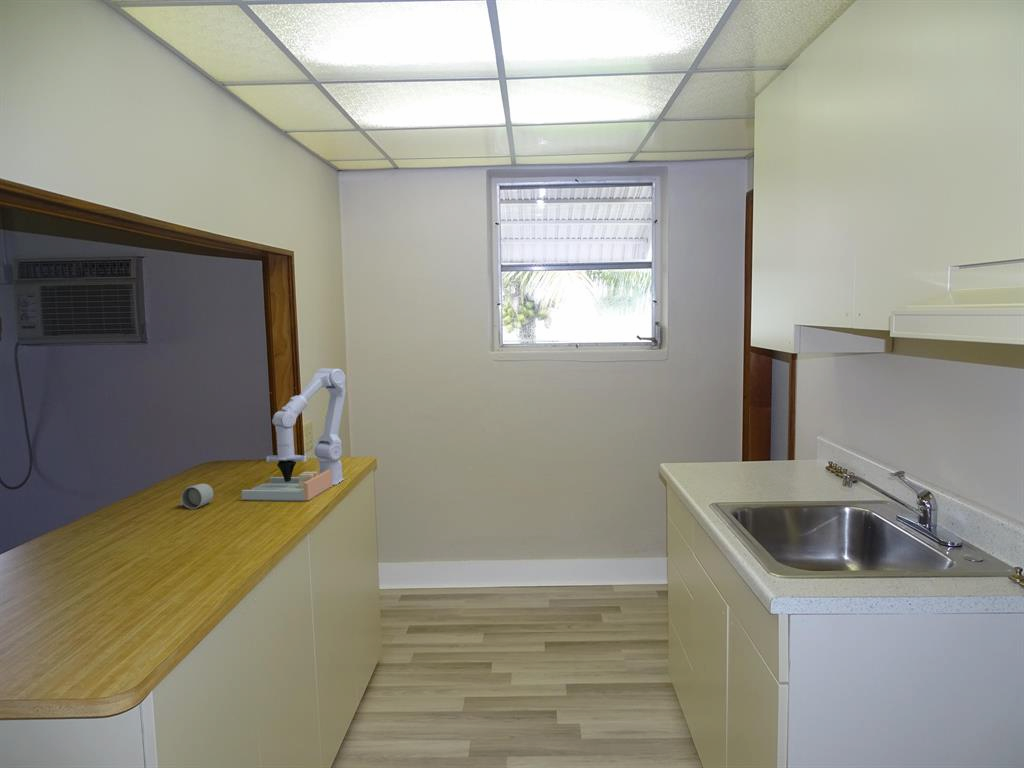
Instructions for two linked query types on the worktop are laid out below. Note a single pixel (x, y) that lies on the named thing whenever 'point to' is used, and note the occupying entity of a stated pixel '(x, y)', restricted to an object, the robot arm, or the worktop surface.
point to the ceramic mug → (196, 496)
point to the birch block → (306, 477)
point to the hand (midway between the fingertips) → (287, 481)
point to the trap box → (290, 489)
